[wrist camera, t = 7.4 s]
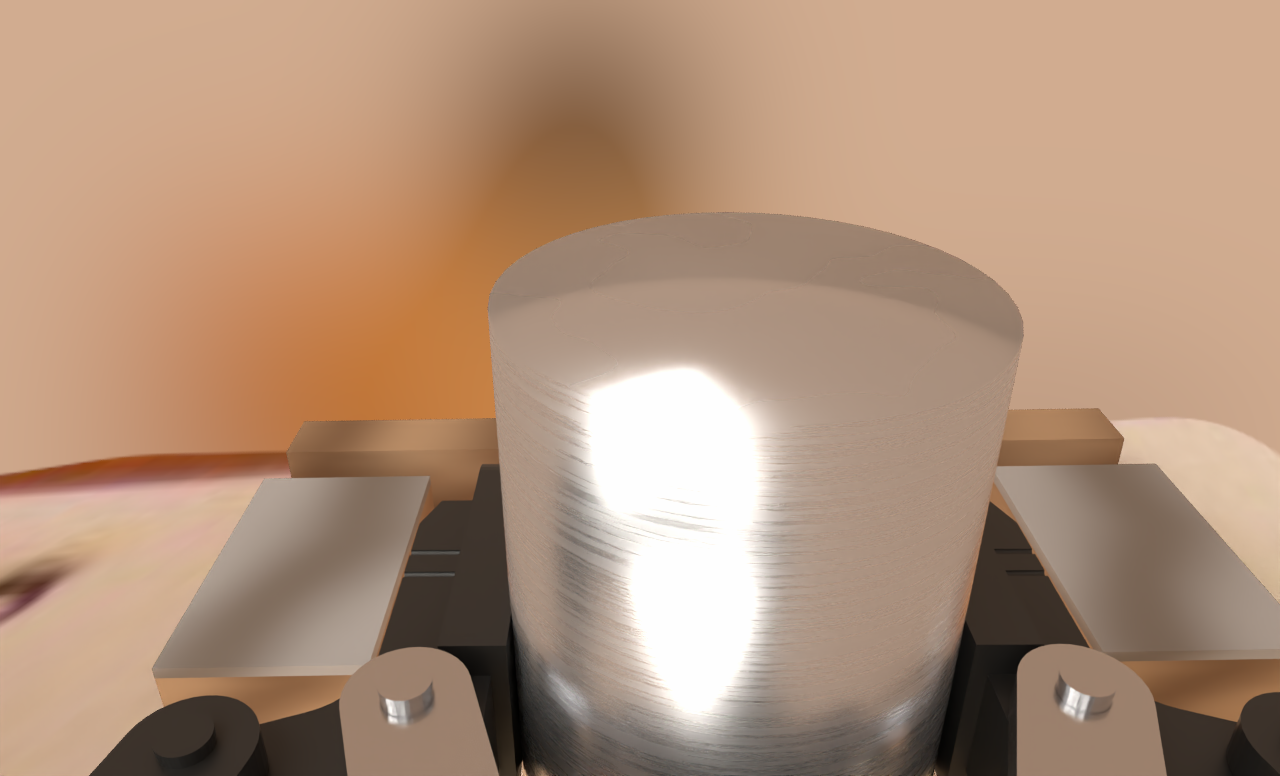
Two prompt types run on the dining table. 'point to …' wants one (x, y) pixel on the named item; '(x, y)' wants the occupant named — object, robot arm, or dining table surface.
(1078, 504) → the rail with metal-top blocks
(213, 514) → the dining table surface
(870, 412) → the link pin
